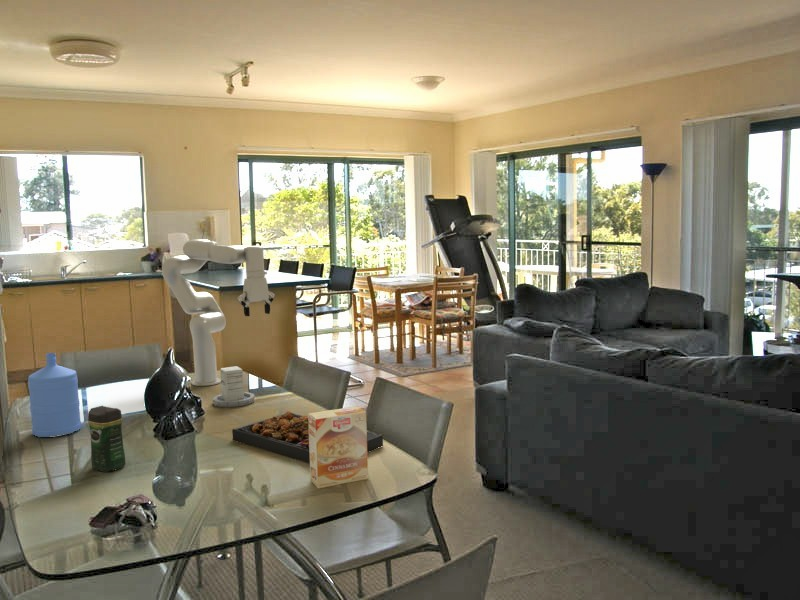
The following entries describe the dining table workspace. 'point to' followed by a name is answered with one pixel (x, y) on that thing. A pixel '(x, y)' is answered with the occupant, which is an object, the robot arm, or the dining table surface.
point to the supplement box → (232, 383)
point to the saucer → (228, 404)
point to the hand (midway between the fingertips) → (257, 314)
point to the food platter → (287, 436)
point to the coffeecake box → (338, 446)
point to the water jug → (54, 400)
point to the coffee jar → (106, 438)
